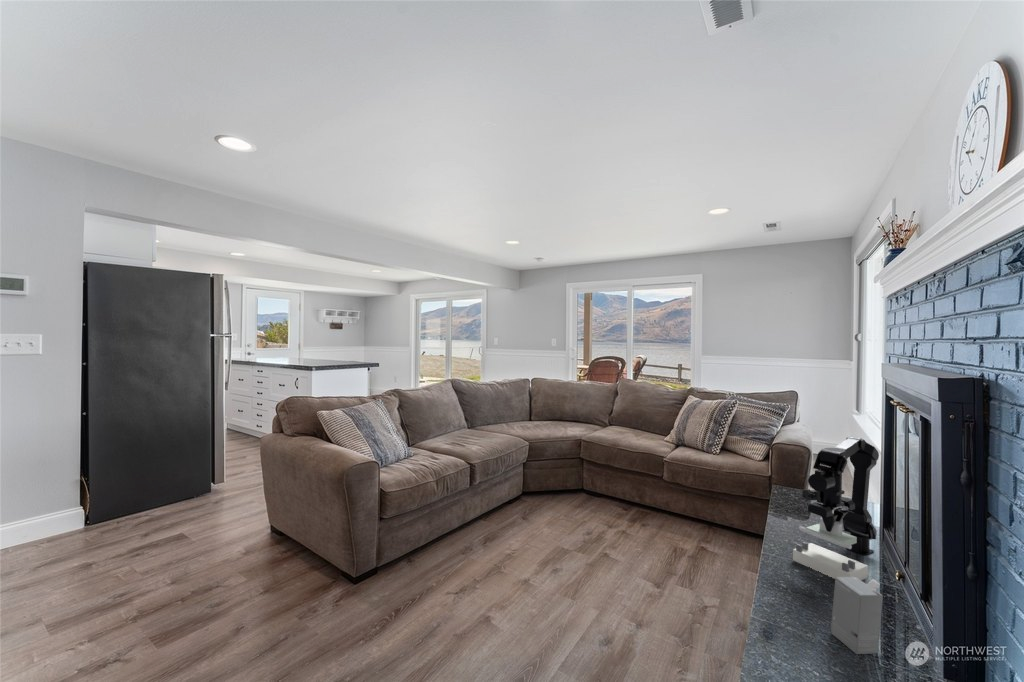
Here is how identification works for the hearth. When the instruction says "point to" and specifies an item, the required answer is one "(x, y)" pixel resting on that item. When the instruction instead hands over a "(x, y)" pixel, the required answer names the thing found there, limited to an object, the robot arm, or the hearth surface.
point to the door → (831, 534)
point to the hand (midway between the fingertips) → (830, 530)
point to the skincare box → (856, 615)
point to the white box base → (828, 562)
